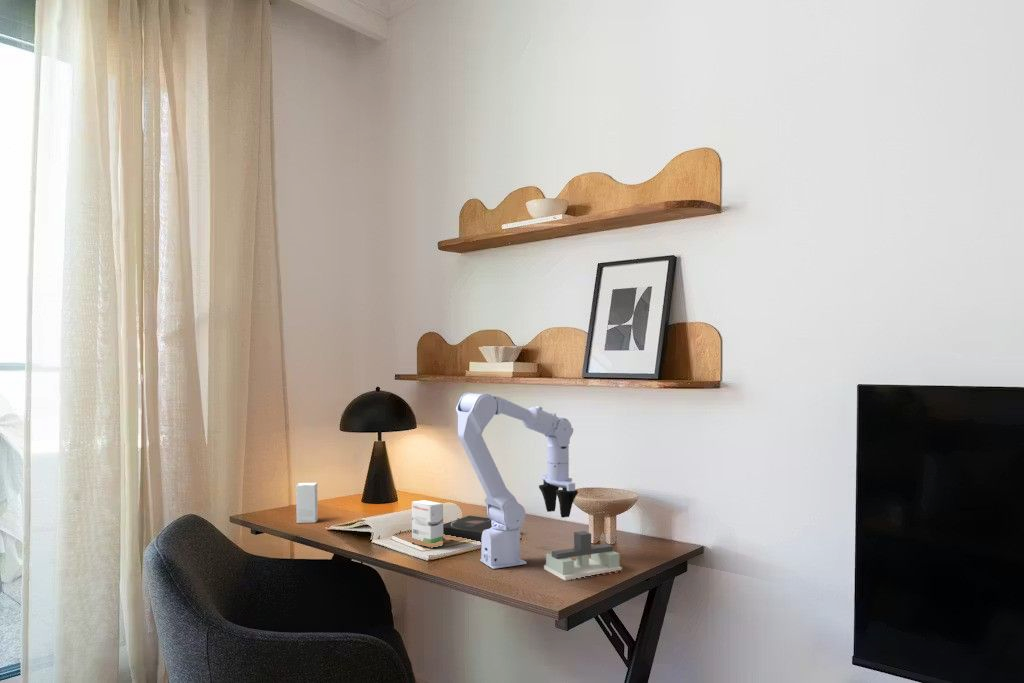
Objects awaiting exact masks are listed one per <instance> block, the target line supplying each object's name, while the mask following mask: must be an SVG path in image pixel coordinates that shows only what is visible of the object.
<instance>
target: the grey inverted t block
mask: <svg viewBox="0 0 1024 683" xmlns="http://www.w3.org/2000/svg"><path fill="white" fill-rule="evenodd" d="M609 551H614V546H613V545H611V544H609V543H601V544H596V545H595V544H594V545H592V533H590V532H588V531H585V530H582V531H574V532H573V548H566V549H559V550H551V553H552V557H554V558H556V559H561V558H574V557H577V556H582V555H589V556H590V555H591V554H596V553H602V552H609Z"/></svg>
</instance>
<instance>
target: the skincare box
mask: <svg viewBox="0 0 1024 683" xmlns="http://www.w3.org/2000/svg"><path fill="white" fill-rule="evenodd" d="M295 494H296V495H295V498H296V500H295V502H296V505H295V506H296V509H295V510H296V512H295V513H296V524H308V523H310V524H312V523H315V524H316V523H317V522H318V520H319V519H318V516H319V514H318V508H319V507H318V506H319V504H318V482H299V483H297V484H296V486H295Z"/></svg>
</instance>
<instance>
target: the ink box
mask: <svg viewBox="0 0 1024 683" xmlns="http://www.w3.org/2000/svg"><path fill="white" fill-rule="evenodd" d="M443 524H444V503H442V502H436V501H433V500H432V501H431V500H425V499H422V500H413V501H411V536H412V537H411V539H412V538H414V539H417V540H421V541H424V542H428V543H436V542H439V541H443V540H444V538H443ZM444 541H445V540H444Z"/></svg>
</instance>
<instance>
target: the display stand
mask: <svg viewBox="0 0 1024 683" xmlns="http://www.w3.org/2000/svg"><path fill="white" fill-rule="evenodd" d="M543 569H544V570H545V571H546V572H548V573H551V575H554V576H556V577H558V578H559V579H561V580H563V581H564V582H565V581H571V579H572V580H577V579H576V578H578V579H582V578H581V577H584V578H586V577H585V576H591V575H595V574H600V573H605V572H611V571H616V570H621V569H622V570H623V567H622V566H621V565H620V553H619V552H616V551H614V550H613V551H609V552H602V553H596V554H589V555H582V556H576V559H575V560H574V559H571V557H568V558H561V559H556V558H554V557H552V552H549V553H548V552H547V553H545V564H544V565H543ZM591 577H592V576H591Z"/></svg>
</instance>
